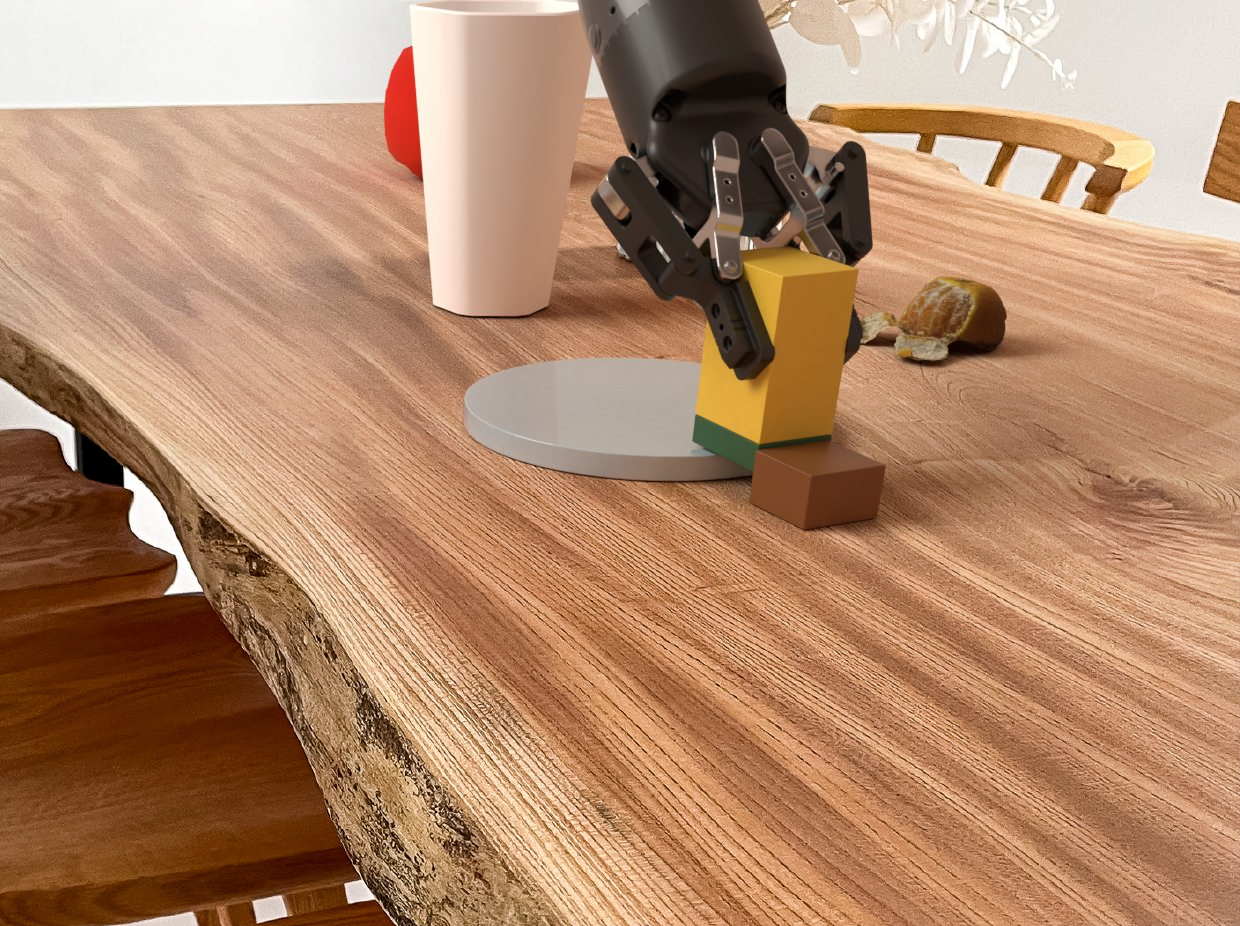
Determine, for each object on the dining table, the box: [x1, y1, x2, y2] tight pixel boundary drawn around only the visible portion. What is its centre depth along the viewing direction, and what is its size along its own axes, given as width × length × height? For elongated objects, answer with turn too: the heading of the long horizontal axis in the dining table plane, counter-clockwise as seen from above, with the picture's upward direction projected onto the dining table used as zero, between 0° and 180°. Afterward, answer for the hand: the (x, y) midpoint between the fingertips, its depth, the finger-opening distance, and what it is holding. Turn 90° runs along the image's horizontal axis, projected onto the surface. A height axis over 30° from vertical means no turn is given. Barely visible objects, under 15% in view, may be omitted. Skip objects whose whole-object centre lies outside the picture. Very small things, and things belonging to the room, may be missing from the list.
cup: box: [409, 0, 593, 317], centre depth 108 cm, size 11×10×17 cm
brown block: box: [748, 440, 887, 531], centre depth 78 cm, size 4×4×2 cm
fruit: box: [859, 276, 1008, 362], centre depth 103 cm, size 8×8×4 cm
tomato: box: [383, 44, 423, 180], centre depth 152 cm, size 14×13×10 cm
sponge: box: [692, 246, 859, 472], centre depth 79 cm, size 5×4×8 cm
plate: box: [462, 357, 753, 482], centre depth 89 cm, size 18×18×1 cm
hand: (801, 363), depth 77 cm, fingers closed on sponge, 4 cm apart
